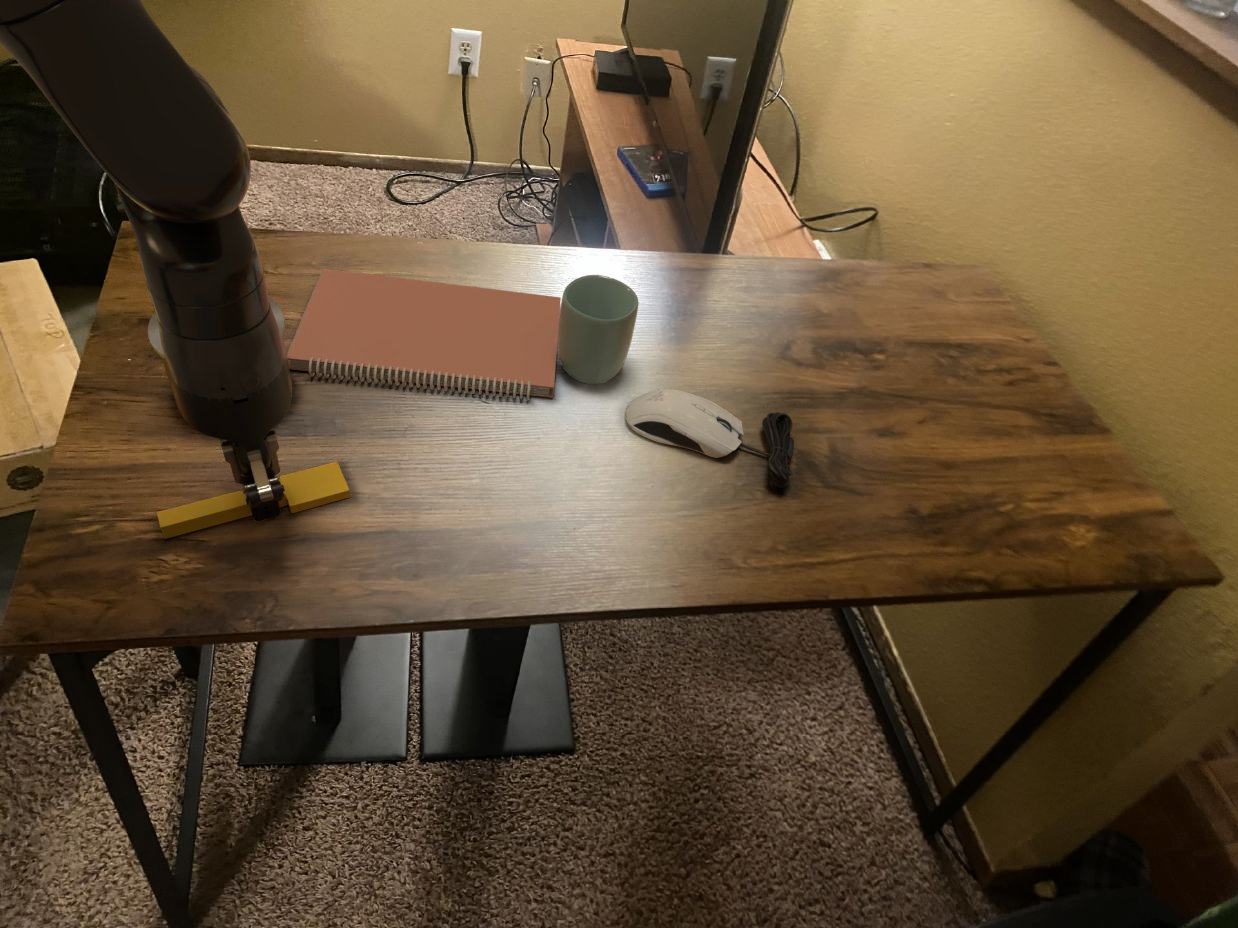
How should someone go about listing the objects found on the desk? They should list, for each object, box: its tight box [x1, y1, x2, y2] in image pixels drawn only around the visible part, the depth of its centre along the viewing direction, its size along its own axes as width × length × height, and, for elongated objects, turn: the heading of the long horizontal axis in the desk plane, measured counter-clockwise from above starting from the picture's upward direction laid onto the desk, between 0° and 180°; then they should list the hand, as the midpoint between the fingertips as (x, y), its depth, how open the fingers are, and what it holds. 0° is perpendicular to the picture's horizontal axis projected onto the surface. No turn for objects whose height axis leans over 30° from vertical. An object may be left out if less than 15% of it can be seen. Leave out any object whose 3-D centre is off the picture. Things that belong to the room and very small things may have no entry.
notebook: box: [286, 268, 562, 401], centre depth 91 cm, size 27×17×2 cm, turn 91°
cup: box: [557, 274, 639, 385], centre depth 89 cm, size 8×8×10 cm
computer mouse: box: [624, 388, 795, 489], centre depth 86 cm, size 10×18×4 cm, turn 75°
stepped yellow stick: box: [156, 461, 351, 539], centre depth 73 cm, size 15×4×2 cm, turn 119°
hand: (266, 513), depth 72 cm, fingers closed
